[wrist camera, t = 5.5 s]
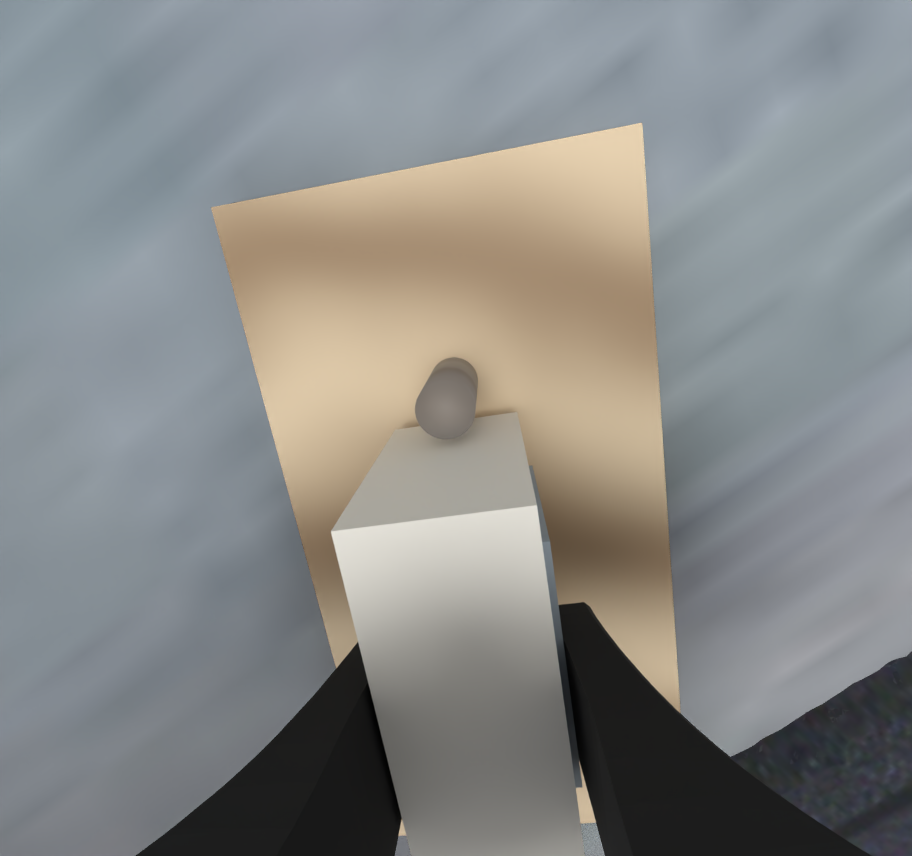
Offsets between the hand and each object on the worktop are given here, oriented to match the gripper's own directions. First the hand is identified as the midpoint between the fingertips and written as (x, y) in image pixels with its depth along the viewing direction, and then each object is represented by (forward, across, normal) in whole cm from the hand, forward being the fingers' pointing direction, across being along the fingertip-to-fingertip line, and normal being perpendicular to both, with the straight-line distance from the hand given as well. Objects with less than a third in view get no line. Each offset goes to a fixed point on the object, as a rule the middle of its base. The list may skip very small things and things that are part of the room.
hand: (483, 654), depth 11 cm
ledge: (+5, 0, 0) cm, 5 cm away
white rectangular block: (+3, 0, -1) cm, 3 cm away
